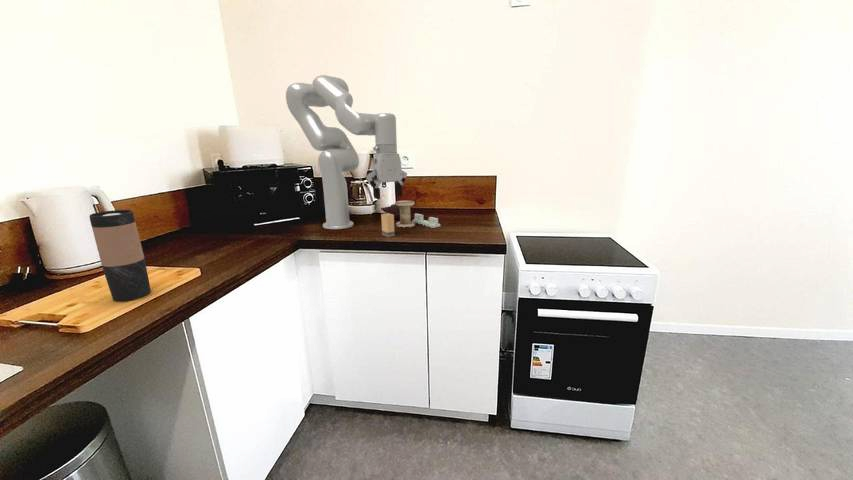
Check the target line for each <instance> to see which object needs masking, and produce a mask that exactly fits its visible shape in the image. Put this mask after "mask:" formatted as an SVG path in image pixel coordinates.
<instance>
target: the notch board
mask: <svg viewBox="0 0 853 480" xmlns="http://www.w3.org/2000/svg"><path fill="white" fill-rule="evenodd" d="M413 215H414V218H413V219H412V222H415V224H417V223H418V225H421V224H422V225H421V226H424V225H425V227H428V228H429V227H430V228H432V229H434V228H439V227H441V223H439V218H438V217H433V216H429V217H428V219H427V220H426V219H424V214H421V213H414V214H413Z"/></svg>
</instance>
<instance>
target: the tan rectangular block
mask: <svg viewBox="0 0 853 480" xmlns="http://www.w3.org/2000/svg"><path fill="white" fill-rule="evenodd" d="M380 216H381V219H380V220H381V235H382V236H386V237H388V238H389V237H392V236H395V235H396V234H395V219H394V215H393V214H389V213H381V214H380Z"/></svg>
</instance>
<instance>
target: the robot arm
mask: <svg viewBox="0 0 853 480" xmlns="http://www.w3.org/2000/svg"><path fill="white" fill-rule="evenodd" d="M349 90H350V89H349V86H348V84H347V82H346V81H345V79H342V78H341V77H336V76H330V75H325V74H324V75H322V74H321V75H318V76H316V77H315V78H314V79H313V80H312V83H306V82H305V83H304V82H294V83H292V84H290V85H288V86H287V88H286V91H285V102H286V106H287V109H288V110H289V112H290V114H291V115H292V116H293V118H294V120H296V122H297V123H298V125H299V126H300V128H301V130H302V132H303V134H304V136H305V137H306V139H307V140H308V142H309V143H310V146H311V147H312V148H313V149H314V150H315V151H317V152H319V151H320V153H319V155H318V157H317V158H318V159H317V163H318V167H319V171H320V175H321V178H322V179H321V180H322V181H321V182H322V188H323V201H324V210H325V222H323V224H322V227H323V228H324V229H327V230H342V229H349V228H353V226H354V222H353V221H352V220H350V210H349V197H348V183H347V180H346V178H345V176H344V174H343V173H349V172H354V171H355V170H357V169H358V167H359V165H360V164H359V163H360V159H359V155H358V153H357V150H355V148H354V146H353V145H352V142H351V140H350V139H349V138H348V136H347V133H345V132H344V131H343V130H342V129H340V128H339V127H335V126H332V127H331V126H326V125H325V124H324V123H323V121H322V120H321V117H320V116H319V115H318V114H317V113H316V112H315V111H314V109H311V107H315V108H324V107H325V108H327V107H330V108H331V109H332V110H333V111H334V114H335V117H336V120H337V122H338V123H339V125H341V126H342V127H343V128H344V129H345V130H347V131H348V132H349V133H351V134H352V135H355V136H367V137H368V136H371V137H372V136H374V139H375V140H374V141H375V145H374V146H373V147H372V149H373V151H374V152H375V154H374V155H373V165H372V166H373V168H372V171H371V172H370V173H368V174H367V175H366V176H365V177H366V180H367V182H368V184H369V185H370V187H371V188H372V194H373V198H374V200H375V199H377V200H380V199H381V188H380V185H381V183H392V182H394V183H395V186H394V188H395V196H397V197H402V195H403V185H404V183H405V181H406V179H407V176H408V173H407V172H406V171H404V170H403V169H402V161H401V157H400V154H399V153H398V146H397V145H398V142H397V141H398V139H397V117H396V115H395V114H394V113H387V112H386V113H385V112H384V113H383V112H382V113H376V114H375V113H373V114H372V113H366V112H364V113H363V112H358V111H356V110H354V109H353V108H352V106H353V103H354V99H353V96H352V94H351V93H350V92H349Z"/></svg>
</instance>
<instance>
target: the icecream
mask: <svg viewBox="0 0 853 480" xmlns="http://www.w3.org/2000/svg"><path fill="white" fill-rule="evenodd" d="M380 210H381V211H383V212H384V214H386V213H389V214H393V215H394V220H397V219H400V206H396V205H395V203H393V204H391V205H389V206H386V207H380Z"/></svg>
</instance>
